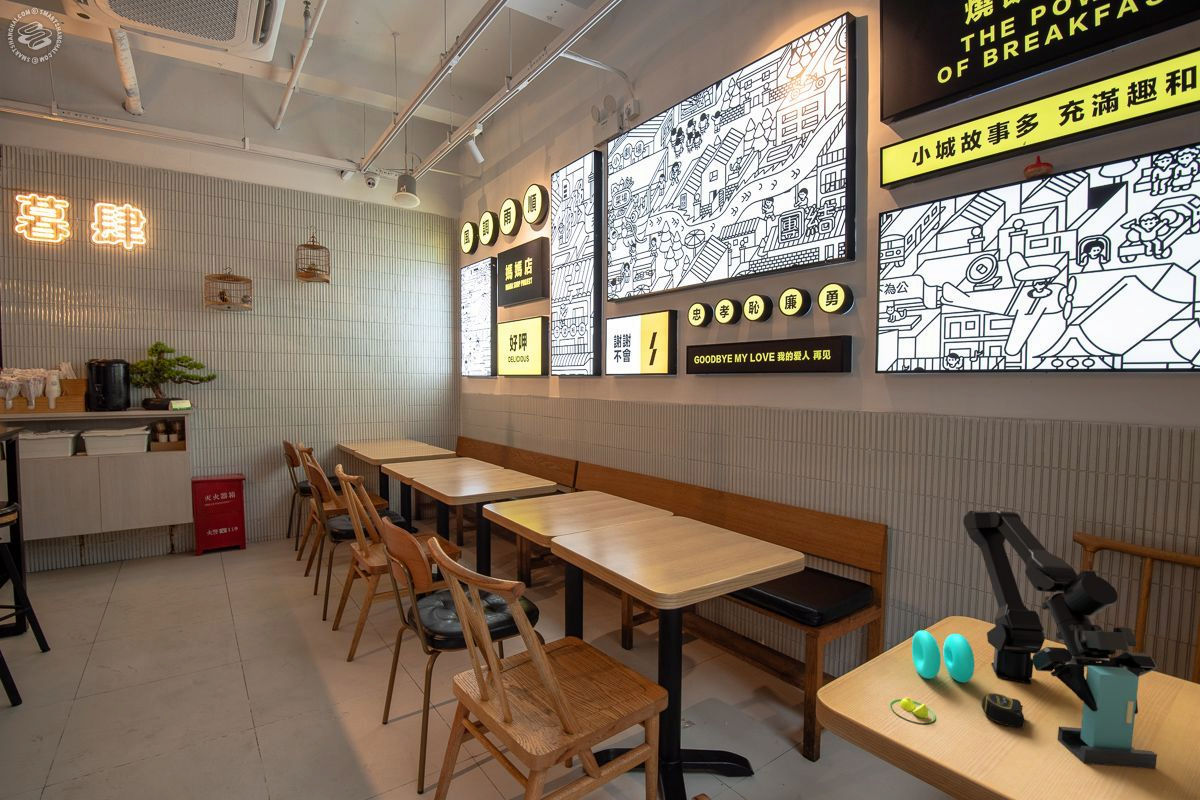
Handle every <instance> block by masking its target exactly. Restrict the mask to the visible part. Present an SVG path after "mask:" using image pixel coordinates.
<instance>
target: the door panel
mask: <svg viewBox="0 0 1200 800" xmlns="http://www.w3.org/2000/svg"><path fill="white" fill-rule="evenodd" d="M1085 679H1086V682H1087V684H1088V686H1089V688H1090V690H1091V693H1092V695H1093V697H1094V700H1095V703H1096V706H1097V708H1098V710H1097V711H1092V710H1091V709H1090V708H1089V707H1088V706H1087V705H1086V704H1085V703H1084V702H1083V707H1082V718H1081V727H1080V728H1081V737H1080V739H1082V740H1083V741H1084V742H1085V743H1086V744H1087V745H1089V746H1092V747H1106V748H1119V749H1132V747H1133V739H1134V738H1133V737H1134V727H1135V720H1136V714H1135V710H1136V700H1137V701H1138V690H1139V681H1140V676H1139V677H1138V676H1137V675H1135V674H1133V673H1132V672H1130V671H1129V670H1127V669H1126V668H1117V667H1102V666H1087V667H1086V675H1085Z"/></svg>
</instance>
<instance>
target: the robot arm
mask: <svg viewBox="0 0 1200 800" xmlns="http://www.w3.org/2000/svg"><path fill="white" fill-rule="evenodd" d="M963 526H964V528H965V529H966V532H967V534H968V537H969V539H971V540H972V542H973V543H975V545H977V546H978V547H979V548H980V551H981V554H982V557H983V561H984V564H985V567H986V570H987V574H988V577H989V580H990V584H991V586H992V590H993V593H994V596H995V600H996V602H997V606H998V609H997V612H996V615H995V617H994V624H995V626H994V627H993V628H991V629H989V630H988V631H987V632H986V636H987V637H986V638H987V643H988V644H990V645H991V646H992V647H994V652H993V654H994V655H993V662H991V663H990V665H991V667H992V669H993V672H994V674H995V676H996V677H997V678H999V679H1003V680H1004V679H1005V680H1010V681H1015V682H1019V683H1025V684H1028V685H1031V684H1032V680H1031V679H1032V678H1033V673H1034V671H1033V669H1035V670H1036V671H1038V672H1050V675H1051V676H1052V677H1056V678H1057V679H1059V681H1060V682H1062V683H1063V684H1064V685H1065V686H1066V687H1067V688H1069V689H1070V691H1072V692H1073V693H1074V694H1075V695H1076V696H1077V697H1078V698H1079V699H1080V701H1082V702H1083V704H1084V703H1085V704H1086V705H1087V706H1088V707H1089V708H1090V709H1091V710H1092V711H1097V710H1098V708H1097V706H1096V703H1095V700H1094V697H1093V695H1092V693H1091V690H1090V688H1089V686H1088V684H1087V682H1086V676H1085V667H1086V668H1087V666H1102V667H1117V668H1126V669H1127V670H1129V671H1130V672H1132V673H1133V674H1135V675H1137V676H1138V677H1139V678H1140V676H1141V677H1142V676H1143V675H1146V674H1148V673H1150V672H1152V671H1155V670H1157V669H1158V666H1157V665H1156V663H1155V661H1154V659H1153V658H1152V656H1150V655H1148V654H1147V653H1145V652H1132V651H1131V650H1130V647H1136V646H1137V639H1136V636H1135V634H1134V633H1133V630H1131V628H1130V627H1118V626H1117V627H1115V626H1114V627H1113V631H1104V630H1103V628H1102V627H1101V626H1100V625H1099V624H1094V622H1093V621H1092V619H1091V616H1094V615H1097V614H1098V613H1100V612H1102V611H1103V610H1105V609H1106V608H1108V607H1109V606H1111V605H1114V604H1115V603H1116V602H1117V600H1118V593H1117V590H1116V588H1115V587H1114V586H1112V584H1111V583H1109V582H1108V581H1107V580H1105V579H1104V578H1102V577H1100V576H1098V575H1097V573H1096V572H1095V570H1084V569H1083V570H1082V571H1080V572H1079V573H1077V572H1076V570H1075V569H1074V568H1073V567H1072V566H1071V565H1070V564H1069V563H1067V562H1066V561H1065V559H1063V558H1061V557H1059V556H1057V555H1055V554H1052V553H1051V552H1050V551H1048V550H1047V549H1046V548H1045V547H1044V545H1043V544H1041V542H1040V541H1039V540H1038V539H1037V538H1036V536H1035V535H1034V534H1033V533H1032V532H1031V531H1030V529H1029V528H1028V527H1027V526H1026V524H1024V522H1023V521H1022V519H1021V516H1020V514H1019V513H1018V512H1015V511H1012V510H1011V511H1010V510H1009V511H1008V510H995V511H986V510H970V511H968V512H967V513H966V514H965V515H964V516H963ZM1005 541H1007V542H1008V544H1009V545H1010V546H1011V547H1012V548H1013V550H1014V551H1015V552H1016V554H1017V555H1018V556H1019V557H1020V559H1021V560H1022V561H1023V563H1024V565H1025V571H1024V573H1025V575H1026V576H1027V579H1028V581H1029V582H1030V583H1031V585H1032V587H1033V589H1035V590H1036V591H1038V592H1050V593H1055V594H1053V595H1051V596H1049V595H1048V596H1045V597H1044V601H1043V602H1042V604H1041V609H1042V610H1047V611H1050V613H1051V615H1052V617H1053V621H1054V622H1055V624H1056V627H1057V629H1058V631H1059V632H1057V633H1056V634H1055V635H1056V638H1057V640H1063V643H1064V645H1065V647H1066V648H1065V647H1054V646H1051V647H1050V646H1045V647H1044V648H1043V645H1044V642H1045V639H1046V636H1045V633H1044V631H1045V629H1044V627H1043V625H1042V623H1041V620H1040V616H1039V614H1038V613H1037V611H1036V610H1030V609H1028V608H1027V607H1026V605H1025V604H1024V601H1023V599H1022V595H1021V592H1020V590H1019V586H1018V584H1017V579H1016V578H1015V575H1014V572H1013V569H1012V565H1011V563H1010V559H1009V556H1008V553H1007V551H1006V547H1005ZM1117 650H1118V651H1119V650H1121V651H1123V653H1121V654H1119V655H1118V656H1116V657H1111V656H1109V655H1115V654H1117ZM1032 655H1033V656H1032ZM1137 714H1139V708H1138V699H1137V700H1136V710H1135V715H1137Z"/></svg>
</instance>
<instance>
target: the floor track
mask: <svg viewBox="0 0 1200 800" xmlns="http://www.w3.org/2000/svg"><path fill="white" fill-rule="evenodd" d="M1080 737H1081V727H1071V726H1069V727H1068V726H1058V730H1057V741H1058V742H1060V744H1062V746H1064V747H1065V748H1066V749H1067V750H1069V752H1070V753H1072V754H1073V755H1074V757H1076V758H1077V759H1078V760H1079V761H1081V763H1083V764H1089V765H1100V766H1111V767H1112V766H1115V767H1126V768H1138V769H1154V770H1156V768H1157V760H1158V759H1157V758H1158V754H1157V753H1156V752H1154V751H1153V750H1144V749H1143V750H1142V749H1136V748H1134V747H1133V746H1132V749H1119V748H1106V747H1092V746H1089V745H1087V744H1086V743H1085V742H1084V741H1083V740H1082V739H1080Z"/></svg>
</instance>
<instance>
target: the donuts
mask: <svg viewBox="0 0 1200 800" xmlns="http://www.w3.org/2000/svg"><path fill="white" fill-rule="evenodd" d="M969 642H970V641H968V640H967V638H966V637H964V635H961V634H959V633H952V634H949V635H948V636H947V637H946V639H945V640H944V644H943V648H942V657H943V662H944V666H945V668H946V670H947V672H948V674H949V675H950V676H951V678H952V679H953V680H955V681H956V682H959V683H967V682H969V681H970V680H971V679H972V678H973V676H974V672H975V657H974V652H973V649H972V646H971V644H970V643H969ZM911 656H912V661H913V665H914V668H915V670H916V672H917V673H918V674H919V675H920V676H921V677H922V678H924V679H927V680H930V679H933V678H935V677H936V676H937V675H938V673H939V671H940V668H941V659H942V657H941V651H940V647H939V644H938V642H937V639H936V638H935V637H934V636H933V634H931V633H930V632H929V631H927V630H918V631H916V632H915V633H914V635H913V637H912V641H911Z"/></svg>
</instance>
